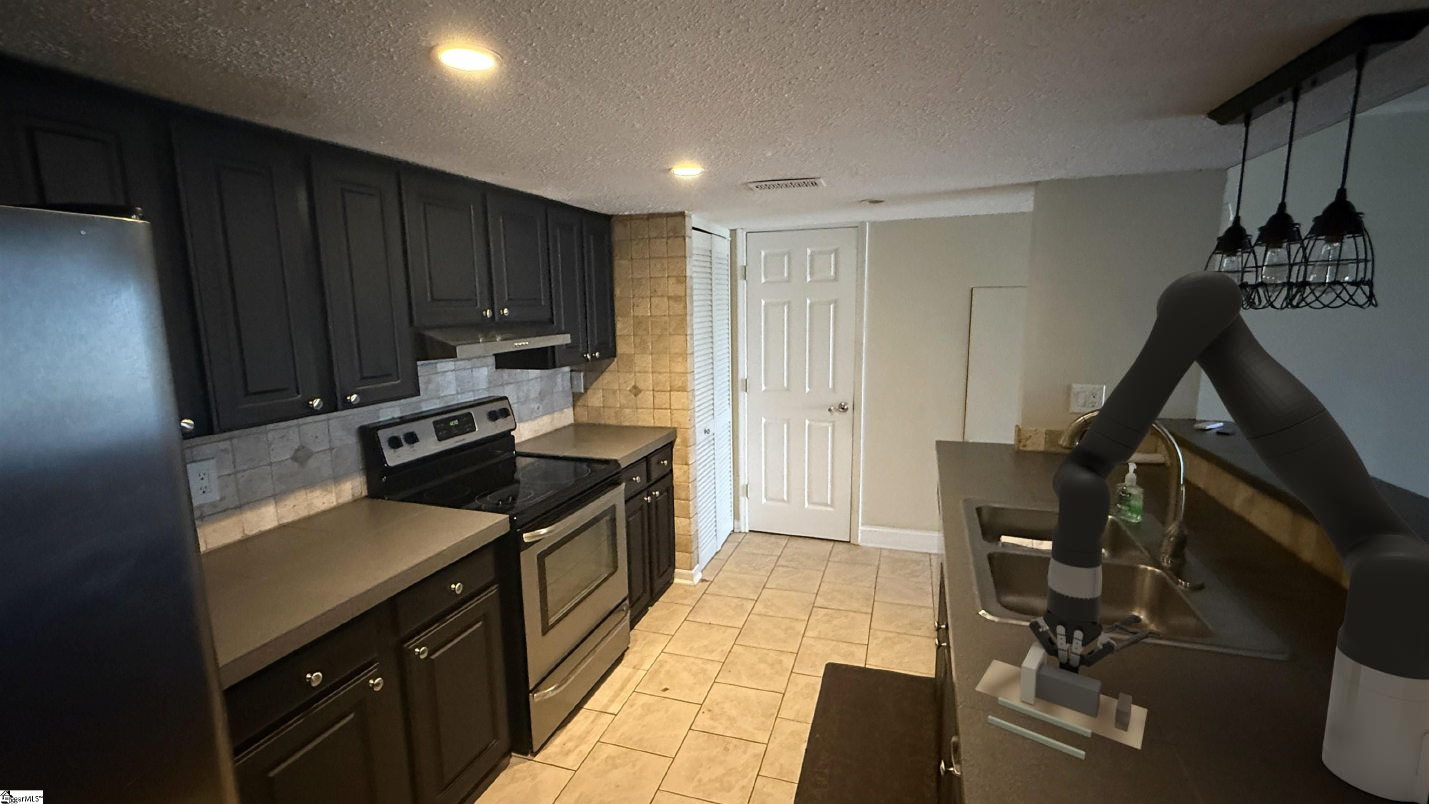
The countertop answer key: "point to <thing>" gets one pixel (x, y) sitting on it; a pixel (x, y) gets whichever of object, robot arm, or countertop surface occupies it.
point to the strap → (1031, 672)
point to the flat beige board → (1111, 720)
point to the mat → (1036, 736)
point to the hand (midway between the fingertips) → (1068, 681)
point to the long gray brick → (1068, 689)
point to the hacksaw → (1122, 624)
